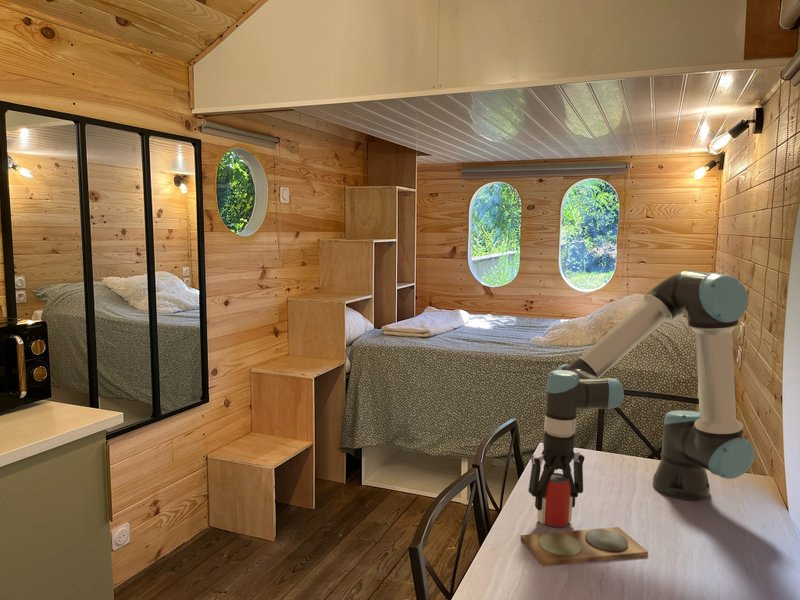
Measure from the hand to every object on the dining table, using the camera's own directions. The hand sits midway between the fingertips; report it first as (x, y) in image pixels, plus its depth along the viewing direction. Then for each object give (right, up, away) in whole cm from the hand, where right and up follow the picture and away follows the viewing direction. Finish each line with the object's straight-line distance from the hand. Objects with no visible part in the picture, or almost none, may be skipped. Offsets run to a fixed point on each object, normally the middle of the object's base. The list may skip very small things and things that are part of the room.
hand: (554, 520), depth 156 cm
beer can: (0, -1, 0) cm, 1 cm away
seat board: (+4, -2, -12) cm, 13 cm away
